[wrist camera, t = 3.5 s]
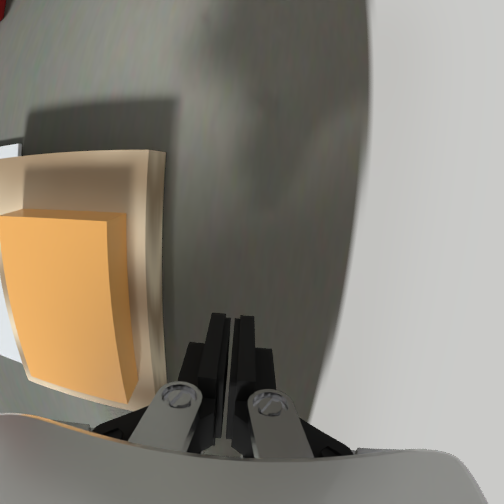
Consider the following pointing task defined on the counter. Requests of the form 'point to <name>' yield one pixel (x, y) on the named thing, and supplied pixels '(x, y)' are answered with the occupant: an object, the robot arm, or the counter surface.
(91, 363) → the slab
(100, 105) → the counter surface
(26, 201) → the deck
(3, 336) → the mat
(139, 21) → the counter surface
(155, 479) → the robot arm
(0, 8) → the mechanical linkage
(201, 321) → the counter surface
